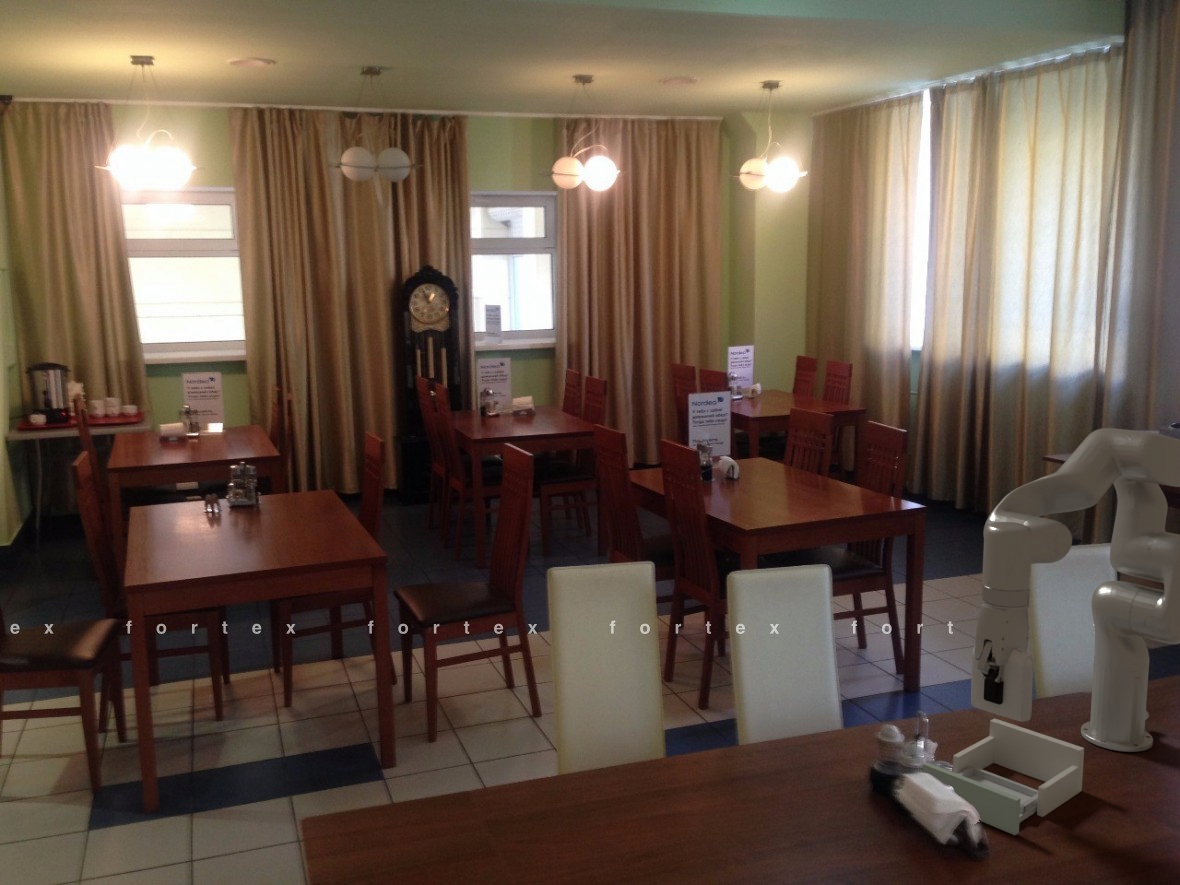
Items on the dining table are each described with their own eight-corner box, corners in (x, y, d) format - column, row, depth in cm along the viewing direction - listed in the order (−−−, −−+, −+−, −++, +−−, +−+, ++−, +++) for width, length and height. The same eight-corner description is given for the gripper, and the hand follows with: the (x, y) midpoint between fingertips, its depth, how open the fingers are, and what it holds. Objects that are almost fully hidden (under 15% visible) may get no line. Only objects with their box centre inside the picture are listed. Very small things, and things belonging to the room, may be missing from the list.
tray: (963, 773, 188) (964, 741, 187) (1055, 808, 175) (1057, 774, 174) (921, 796, 180) (922, 764, 179) (1015, 835, 166) (1016, 800, 166)
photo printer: (966, 706, 179) (969, 638, 178) (979, 700, 182) (982, 633, 180) (1022, 725, 171) (1026, 654, 170) (1035, 718, 174) (1038, 648, 172)
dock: (992, 758, 194) (994, 718, 193) (1081, 790, 181) (1084, 747, 180) (952, 781, 185) (953, 739, 184) (1042, 817, 173) (1045, 772, 171)
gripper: (1009, 581, 182) (1005, 679, 185) (958, 600, 171) (954, 704, 174) (1051, 590, 176) (1046, 691, 179) (1000, 611, 166) (995, 718, 168)
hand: (1000, 697), depth 176 cm, fingers closed on photo printer, 4 cm apart
